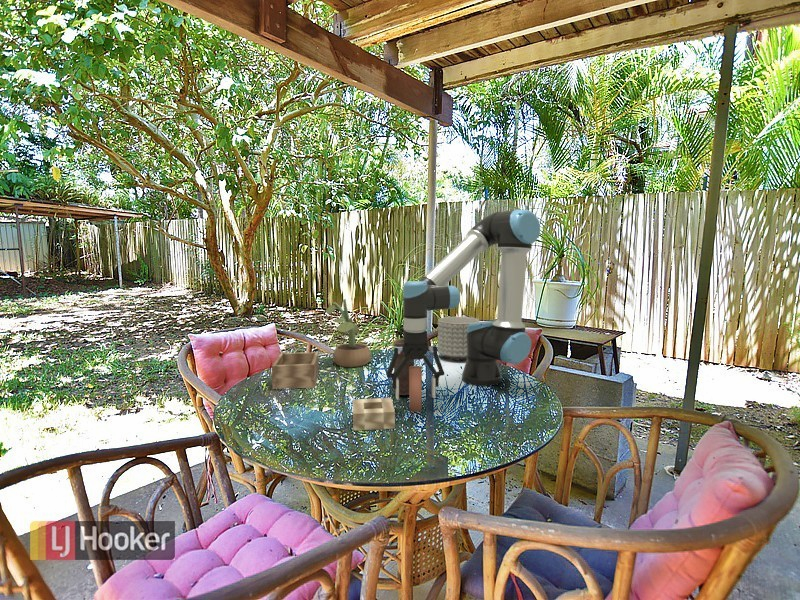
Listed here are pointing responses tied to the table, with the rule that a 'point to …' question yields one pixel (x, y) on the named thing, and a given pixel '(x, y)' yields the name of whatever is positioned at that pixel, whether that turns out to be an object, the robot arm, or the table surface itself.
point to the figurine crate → (295, 370)
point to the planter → (453, 336)
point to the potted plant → (351, 351)
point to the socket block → (373, 414)
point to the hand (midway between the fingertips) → (415, 397)
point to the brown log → (404, 372)
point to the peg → (415, 388)
